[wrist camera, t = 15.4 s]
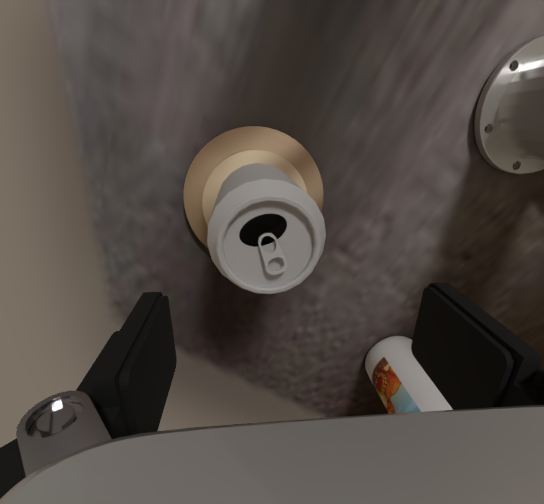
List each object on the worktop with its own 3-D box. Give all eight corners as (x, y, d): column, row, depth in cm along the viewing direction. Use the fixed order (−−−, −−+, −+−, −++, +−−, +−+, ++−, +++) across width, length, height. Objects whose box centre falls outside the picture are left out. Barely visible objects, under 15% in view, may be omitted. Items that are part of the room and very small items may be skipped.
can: (282, 149, 27) (312, 162, 16) (307, 224, 30) (347, 279, 19) (203, 179, 27) (180, 213, 16) (236, 251, 30) (234, 321, 19)
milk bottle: (388, 324, 39) (521, 496, 21) (429, 347, 41) (583, 521, 23) (351, 366, 41) (444, 557, 23) (393, 386, 43) (508, 575, 25)
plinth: (347, 190, 32) (358, 195, 29) (263, 283, 35) (265, 297, 32) (243, 92, 28) (244, 88, 25) (157, 209, 31) (149, 217, 28)
